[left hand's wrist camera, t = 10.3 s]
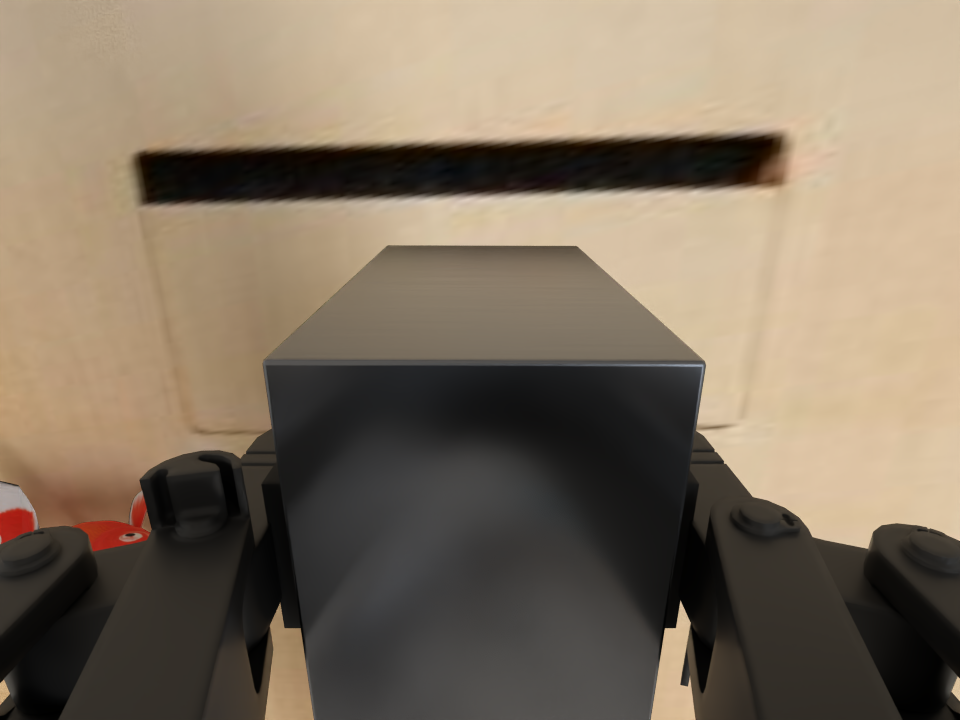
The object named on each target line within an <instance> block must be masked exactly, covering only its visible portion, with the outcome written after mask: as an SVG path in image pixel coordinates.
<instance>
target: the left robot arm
mask: <svg viewBox="0 0 960 720" xmlns="http://www.w3.org/2000/svg"><path fill="white" fill-rule="evenodd" d="M140 484H141V488H142V492H143V496H144V500H145V504H146V508H147V512H148V516H149V520H150V524H151V528H152V530H151V532H150V534H149V537H148V539H147V540H145V541H141V542H137V543H133V544H128V545H123V546H118V547H113V548H108V549H102V550H97V551H93V549H92V546H91V543H90V539H89V536H88V534H87V533H86V532H84V531H83V530H82V529H80V528H76V527H69V526H59V527H50V528H42V529H37V530H34V531H33V532H32V531H29V532H26V533H23V534H21V535H18V536H17V537H16V538H13V539H11V540H9V541H7V542H4V543H2V544H0V683H1V682H2V681H3V680H5V683H6V685H7V687H8V690H9V692H10V695H9V696H8V697H7V698H6V699H5V700H4V702H3V703H2V704H1V705H0V720H265V712H266V704H267V696H268V688H269V680H270V672H271V664H272V656H273V643H272V636H271V631H270V624H271V621H272V619H273V617H274V615H275V613H276V610H277V608H278V606H279V604H280V603H281V609H282V615H283V621H284V627H285V628H301V626H300V619H299V612H298V605H297V598H296V591H295V584H294V577H293V570H292V563H291V556H290V550H289V543H288V536H287V529H286V522H285V515H284V508H283V501H282V494H281V487H280V480H279V473H278V467H277V460H276V453H275V446H274V439H273V432H272V429H270V430H269V431H267V432H266V433H264V434H262V435H261V436H259V437H257V439H256V440H255V441H254V442H253V444H252V445H251V446H250V447H249V449H248V450H247V451H246V454H244V455H243V456H242V457H241V459H240V458H238V457H237V456H236V455H234V454H233V453H229V452H224V451H219V450H217V451H199V452H193V453H188V454H183V455H180V456H177V457H175V458H172V459H169V460H166V461H164V462H162V463H160V464H159V465H157V466H155V467H154V468H152V469H150V470H149V471H148V472H147V473H146V474H145V475H144V476H143V477H142V478H141V479H140ZM680 600H681V602H682V604H683V607H684V609H685V611H686V613H687V615H688V618H689V620H690V622H691V625H690V631H689V636H688V642H687V648H686V653H685V659H684V665H683V671H682V677H681V684H680V685H684V686H688V683H689V678H691V686H692V694H693V702H694V710H695V718H696V720H960V701H959V700H958V699H957V698H956V697H955V695H954V694H953V693H952V692H951V691H952V689H953V686H954V684H955V681H956V679H957V677H959V678H960V541H958V540H956V539H954V538H952V537H949V536H947V535H945V534H944V533H942V532H940V531H937V530H934V529H927V527H922V526H917V525H906V524H897V523H896V524H889V525H882V526H880V527H879V528H878V529H876V530H875V531H874V532H873V535H872V538H871V541H870V545H869V548H868V549H865V548H860V547H855V546H850V545H845V544H840V543H835V542H830V541H825V540H821V539H817V538H813V537H812V536H811V534H810V531H809V529H808V528H807V527H806V526H805V524H804V523H803V522H802V521H801V519H800V518H799V517H797V516H796V515H794V514H793V513H792V512H790V511H789V510H787V509H786V508H784V507H781V506H779V505H777V504H774V503H772V502H770V501H767V500H763V499H758V498H754V497H752V496H751V494H750V493H749V492H748V491H747V489H746V488H745V487H744V486H743V484H742V483H741V482H740V481H739V479H738V478H737V477H736V476H735V474H734V473H733V472H732V471H731V469H730V468H729V467H728V466H727V465H726V464H724V461H723V460H722V458H721V457H720V456H719V455H718V453H717V452H715V451H714V448H713V447H712V446H711V445H710V443H709V442H708V441H707V440H706V438H705V437H704V436H703V435H701V434H700V433H698V432H695V438H694V444H693V451H692V457H691V464H690V470H689V476H688V483H687V489H686V496H685V502H684V508H683V515H682V521H681V528H680V534H679V540H678V547H677V553H676V560H675V566H674V572H673V579H672V585H671V592H670V598H669V604H668V611H667V617H666V624H665V628H676V624H677V617H678V611H679V605H680Z"/></svg>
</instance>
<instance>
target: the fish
mask: <svg viewBox="0 0 960 720" xmlns="http://www.w3.org/2000/svg"><path fill="white" fill-rule="evenodd" d="M146 511H147V508H146V504H145V500H144V496H143V492H142V491H141V492H139V493H138V494H137V495H136V496H135V497H134V499H133V501H132V505H131V509H130V514H129V524H126V523H121V522H117V521H95V522H84V523H81V524H77V525H75V526H72V527H76V528H80V529H82V530H83V531H84V532H86V533H87V534H88V536H89V539H90V543H91V546H92V549H93V551H97V550H102V549H108V548H113V547H118V546H123V545H128V544H133V543H137V542H141V541H145V540H147V539H148V537H149V534H150V532H148V531H146V530H144V529H143V528H142V524H143V521H144V518H145V514H146ZM37 529H39V525H38V521H37V517H36V513H35V510H34V508H33V507H32V505H31V503H30V502H29V500H28V498H27V497H26V496H25V494H24V493H23V491H22V490H21V488H20V487H19V486H18V485H15V484H11V483H6V482H2V481H0V544H2V543H4V542H7V541H9V540H11V539H13V538H16V537H17V536H18V535H21V534H23V533H26V532H29V531H32V532H33V531H34V530H37Z"/></svg>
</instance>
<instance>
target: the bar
mask: <svg viewBox="0 0 960 720" xmlns="http://www.w3.org/2000/svg"><path fill="white" fill-rule="evenodd" d="M705 368H706V364H705V361H704V360H703V359H702V358H701V357H700V356H698V355H697V354H696V353H695V352H694V351H693V350H692V349H691V348H690V347H688V346H687V345H686V344H685V343H684V342H683V341H682V340H681V339H680V338H678V337H677V336H676V335H675V334H674V333H673V332H672V331H671V330H670V329H668V328H667V327H666V326H665V325H664V324H663V323H662V322H661V321H660V320H658V319H657V318H656V317H655V316H654V315H653V314H652V313H651V312H650V311H648V310H647V309H646V308H645V307H644V306H643V305H642V304H641V303H640V302H638V301H637V300H636V299H635V298H634V297H633V296H632V295H631V294H630V293H628V292H627V291H626V290H625V289H624V288H623V287H622V286H621V285H620V284H618V283H617V282H616V281H615V280H614V279H613V278H612V277H611V276H610V275H608V274H607V273H606V272H605V271H604V270H603V269H602V268H601V267H600V266H598V265H597V264H596V263H595V262H594V261H593V260H592V259H591V258H590V257H588V256H587V255H586V254H585V253H584V252H583V251H582V250H581V249H580V248H578V247H577V246H386V247H385V248H384V249H383V250H382V251H381V252H380V253H379V254H378V255H377V256H376V257H375V258H373V259H372V260H371V261H370V262H369V263H368V264H367V265H366V266H365V267H364V268H363V269H362V270H360V271H359V272H358V273H357V274H356V275H355V276H354V277H353V278H352V279H351V280H350V281H349V282H347V283H346V284H345V285H344V286H343V287H342V288H341V289H340V290H339V291H338V292H337V293H336V294H334V295H333V296H332V297H331V298H330V299H329V300H328V301H327V302H326V303H325V304H324V305H323V306H322V307H320V308H319V309H318V310H317V311H316V312H315V313H314V314H313V315H312V316H311V317H310V318H309V319H307V320H306V321H305V322H304V323H303V324H302V325H301V326H300V327H299V328H298V329H297V330H296V331H294V332H293V333H292V334H291V335H290V336H289V337H288V338H287V339H286V340H285V341H284V342H283V343H281V344H280V345H279V346H278V347H277V348H276V349H275V350H274V351H273V352H272V353H271V354H270V355H269V356H267V357H266V358H265V359H264V361H263V370H264V377H265V384H266V390H267V397H268V404H269V411H270V418H271V425H272V432H273V439H274V446H275V453H276V460H277V467H278V473H279V480H280V487H281V494H282V501H283V508H284V515H285V522H286V529H287V536H288V543H289V550H290V556H291V563H292V570H293V577H294V584H295V591H296V598H297V605H298V612H299V619H300V626H301V633H302V639H303V646H304V653H305V660H306V667H307V674H308V681H309V688H310V695H311V702H312V709H313V716H314V720H651V713H652V707H653V700H654V694H655V688H656V681H657V675H658V668H659V662H660V656H661V649H662V643H663V636H664V630H665V624H666V617H667V611H668V604H669V598H670V592H671V585H672V579H673V572H674V566H675V560H676V553H677V547H678V540H679V534H680V528H681V521H682V515H683V508H684V502H685V496H686V489H687V483H688V476H689V470H690V464H691V457H692V451H693V444H694V438H695V432H696V425H697V419H698V413H699V406H700V400H701V393H702V387H703V381H704V374H705Z"/></svg>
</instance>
